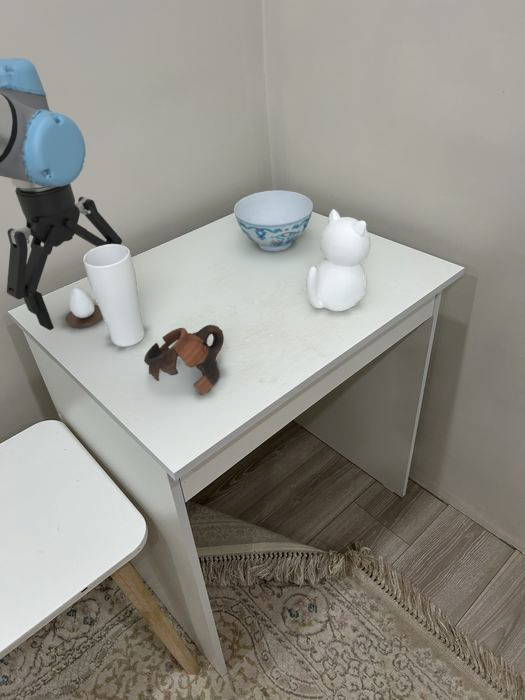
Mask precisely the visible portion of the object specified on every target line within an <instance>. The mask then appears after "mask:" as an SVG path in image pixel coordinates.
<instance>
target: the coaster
mask: <svg viewBox="0 0 525 700" xmlns="http://www.w3.org/2000/svg"><path fill="white" fill-rule="evenodd" d="M94 307H95V310H94V312H93V314H92V315H90V316H89V317H86V318H79V317H77V316H75V315H74V314H73V313H72V311H71V310H70V311H69V312H68V313H67V314H66V315H65V319H64V320H65V324H66V325H67V326H68V327H70V328H72V329H87V328H90V327H93V326H95V325H97V324H99V323H100V322H101V321H102V320H104V319H103V316H102V314H101V311H100V309H99V306H98V304H94Z"/></svg>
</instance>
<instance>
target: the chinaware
mask: <svg viewBox="0 0 525 700" xmlns="http://www.w3.org/2000/svg"><path fill="white" fill-rule="evenodd" d="M313 209H314V204H313V201H312V200H311V199H310V198H309V197H308V196H306V195H304V194H301V193H299V192H296V191H290V190H265V191H259V192H255V193H252V194H249V195H247V196H245V197H244V196H243V198H240V200H238V201H237V202H236V203H235V205H234V208H233V213H234V216H235V219H236V222H237V224H238V226H239V228H240V230H241V231H242V233H244V234H245V236H246V237H247V238H249V239H250V240H251V241H252V242H254V243H256V244H257V245H258V247H260V249H262V250H265V251H269V252H279V251H283V250H286V249H287V248H289V247H290V246H292V243H293V242H294V241H296V240H297V239H298V238H299V237H300V236H301V235H302V234H303V233H304V232H305V230H306V228H307V227H308V225H309V223H310V221H311V217H312V213H313Z"/></svg>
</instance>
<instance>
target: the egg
mask: <svg viewBox="0 0 525 700" xmlns="http://www.w3.org/2000/svg"><path fill="white" fill-rule="evenodd" d="M68 301H69V302H68V304H69V309H70V311H72V313H73V314H74V315H75V316H77V317H79V318H86V317H89V316H90V315H92V314H93V312H94V310H95V307H94V305H95V304H94V301H93V299H92V297H91V296H90V295H89V293H87V291H85V290H84V289H83V288H81V287H79V286H75V287H74V288H73V289H72V291H71V292H70V295H69V300H68Z"/></svg>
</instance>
